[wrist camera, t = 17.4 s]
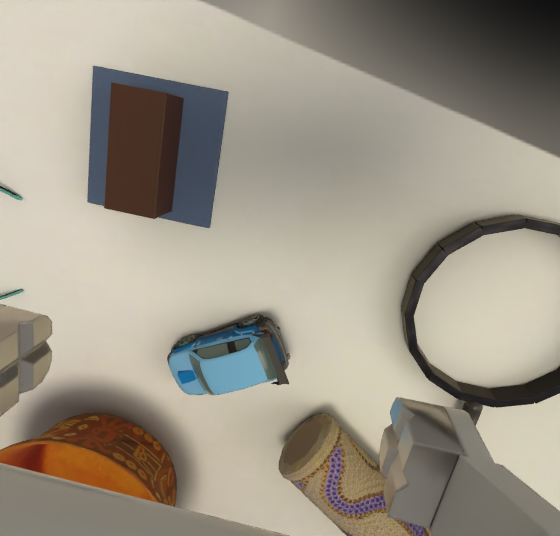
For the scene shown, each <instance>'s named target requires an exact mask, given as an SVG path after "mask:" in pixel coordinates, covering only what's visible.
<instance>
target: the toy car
mask: <svg viewBox="0 0 560 536" xmlns="http://www.w3.org/2000/svg"><path fill="white" fill-rule="evenodd" d="M239 326H240V327H239ZM278 331H280V328H279V326H278V325H276V326H275V325H274V323H273V321H272V320H271V319H269V318H267V317H264V316H263V315H260V314H257V315H252V316H250V317H247V318H246V319H244V320H243V321H242V322H241V323H240V325H238V323H235V324H233V325H230V326H227V327H224V328H221V329H218V330H215V331H212V332H209V333H206V334H203V335H200V337H199V336H198V335H190V336H187V337H185V338H183V339H182V340H180V341H179V342H178V343H177V344H176V345H174V346H173V347H172V350H171V352H170V354H169V355H168V358H167V359H168V364H169V366H170V369H171V372H172V374H173V377H174V378H175V380H176V382H177V384H178V386H179V387H180V388H181V389H182V390H183V391H184V392H185V393H187V394H189V395H203V394H209V395H219V394H224V393H229V392H233V391H237V390H241V389H245V388H248V387H251V386H254V385H257V384H259V383H263V382H268V381H272V380H274V379H276V378H277V380H278V382H273V383H272V384H277V385H281V384H289V382H288V379H287V377H286V374H285V371H284V370H285V369H287V367H288V364H289V363H288V360H289V359H290V354H289V353H288V354H286V350H285V348H284V345H283V342H282V340H281V337H280V335H279V333H278Z"/></svg>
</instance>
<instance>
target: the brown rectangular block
mask: <svg viewBox="0 0 560 536" xmlns="http://www.w3.org/2000/svg"><path fill="white" fill-rule="evenodd" d="M183 102H184V98H182V97H178V96H175V95H172V94H169V93H165V92H160V91H154V90H149V89H144V88H139V87H134V86H129V85H124V84H118V83H113V82H111V94H110V113H109V131H108V150H107V168H106V187H105V205H104V208H106V209H111V210H115V211H120V212H125V213H129V214H134V215H139V216H144V217H148V218H153V219H155V218H158V217H160V216H162V215H165V214H167V213H169V212H172V206H173V197H174V187H175V178H176V168H177V159H178V149H179V140H180V130H181V121H182V112H183Z"/></svg>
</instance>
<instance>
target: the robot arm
mask: <svg viewBox="0 0 560 536" xmlns="http://www.w3.org/2000/svg"><path fill="white" fill-rule="evenodd" d="M51 335H52V321H51V320H50V318H49V317H48V316H46V315H42V314H38V313H34V312H30V311H26V310H22V309H18V308H14V307H10V306H6V305H3V304H0V416H2V415H3V414H4V413H5V412H6V411H8V410H9V409H10V408H11V407H13V406H14V405H15V404H16V403H17V402H19V394H20V393H24V392H27V391H30V390H33V389H34V388H35V387H37V386H38V385H39V384H40V383H41V382H42V381H43V379H44V378H45V376H46V374H47V373H48V371H49V368H50V364H51V361H52V350H51V349H50V347H49V345H48V344H47V342H46V340H47V339H48V338H49V337H50V336H51ZM390 415H391V420H392V424H391V425H390V426H388V427H387V428H386V429H385V430H384V433H383V436H382V440H381V445H380V452H379V466H380V473H381V474H382V476H383V477H384V478H385V479H386V483H385V486H384V489H383V493H384V499H385V505H386V511H387V517H389V518H392V519H396V520H400V521H403V522H407V523H411V524H414V525H418V526H421V527H425V528H429V529H430V532H431V534H432V535H433V536H560V511H559V510H557V509H556V508H555V507H554V506H552V505H551V504H550V503H549V502H547V501H546V500H545V499H544V498H542V497H541V496H540V495H539V494H537V493H536V492H535V491H534V490H532V489H531V488H530V487H529V486H528V485H526V484H525V483H524V482H523V481H521V480H520V479H519V478H518V477H516V476H515V475H514V474H513V473H511V472H510V471H509V470H508V469H506V468H505V467H504V466H503V465H500V464H496V463H494V461H493V459H492V457H491V455H490V453H489V451H488V450H487V448H486V446H485V444H484V442H483V440H482V438H481V436H480V434H479V432H478V430H477V429H476V427H475V425H474V423H473V421H472V419H471V417H470V415H469V414H468V413H467V412H466V411H464V410H459V409H454V408H449V407H444V406H439V405H434V404H429V403H424V402H419V401H414V400H409V399H404V398H399V397H396V399H395V401H394V402H393V405H392V408H391V411H390ZM0 536H288V535H284V534H280V533H276V532H272V531H268V530H264V529H261V528H257V527H253V526H249V525H245V524H241V523H237V522H233V521H229V520H225V519H221V518H217V517H213V516H209V515H205V514H201V513H197V512H193V511H189V510H185V509H181V508H177V507H173V506H169V505H165V504H161V503H157V502H153V501H149V500H145V499H142V498H138V497H134V496H130V495H126V494H122V493H118V492H114V491H110V490H106V489H102V488H98V487H94V486H90V485H86V484H82V483H78V482H74V481H70V480H66V479H62V478H59V477H55V476H51V475H47V474H43V473H39V472H35V471H31V470H27V469H23V468H19V467H15V466H11V465H7V464H3V463H0Z"/></svg>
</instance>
